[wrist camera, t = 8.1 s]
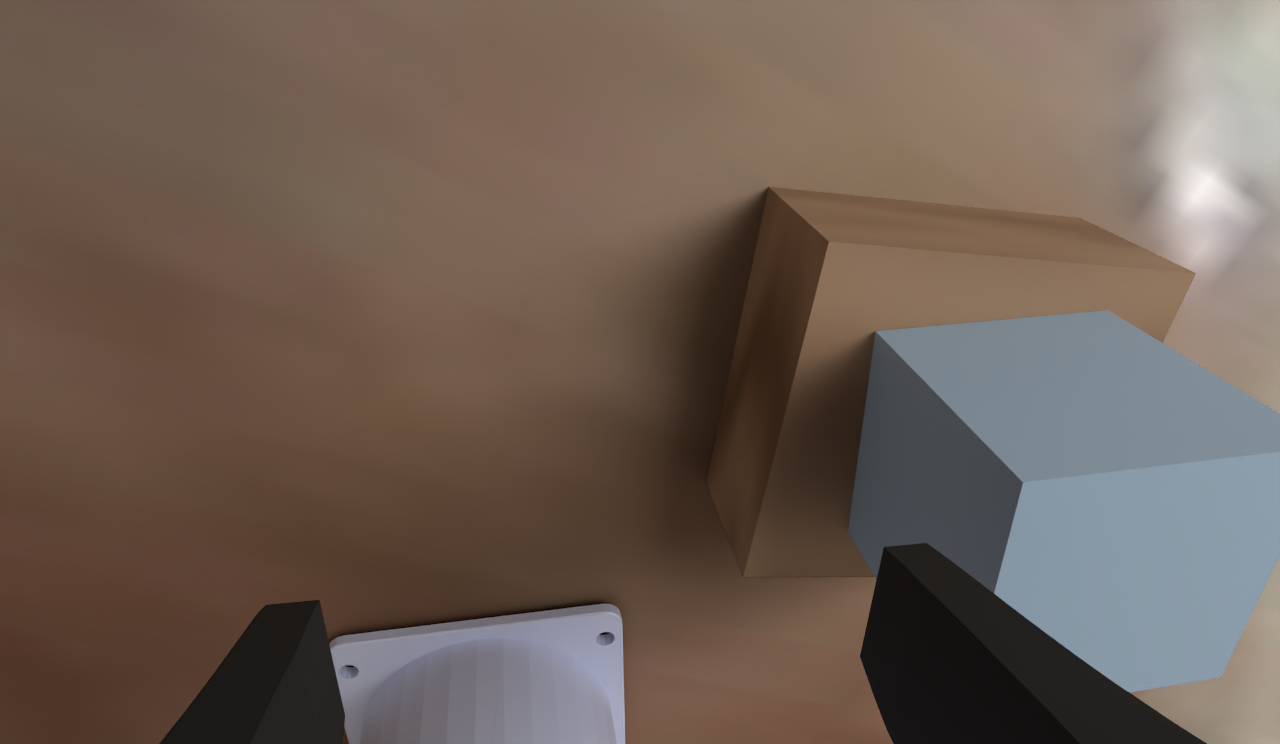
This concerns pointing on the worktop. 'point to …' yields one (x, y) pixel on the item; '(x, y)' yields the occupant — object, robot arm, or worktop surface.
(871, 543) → the slate cube
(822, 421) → the walnut block
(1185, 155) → the worktop surface
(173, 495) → the worktop surface
